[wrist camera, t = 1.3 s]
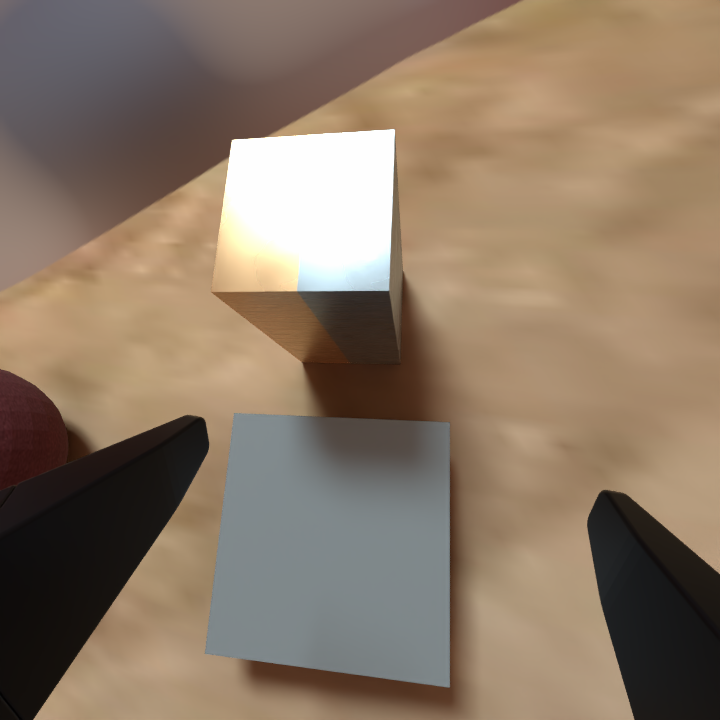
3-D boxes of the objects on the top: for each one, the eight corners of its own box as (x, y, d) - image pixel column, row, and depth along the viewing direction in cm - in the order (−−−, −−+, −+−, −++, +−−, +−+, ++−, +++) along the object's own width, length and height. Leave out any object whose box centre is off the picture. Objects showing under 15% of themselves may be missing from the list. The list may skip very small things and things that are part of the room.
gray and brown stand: (443, 648, 19) (449, 687, 16) (235, 623, 21) (205, 653, 18) (444, 425, 22) (449, 422, 18) (258, 417, 23) (234, 413, 20)
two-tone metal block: (400, 364, 23) (389, 290, 12) (302, 362, 24) (210, 291, 13) (402, 270, 24) (394, 129, 13) (309, 271, 25) (232, 140, 14)
